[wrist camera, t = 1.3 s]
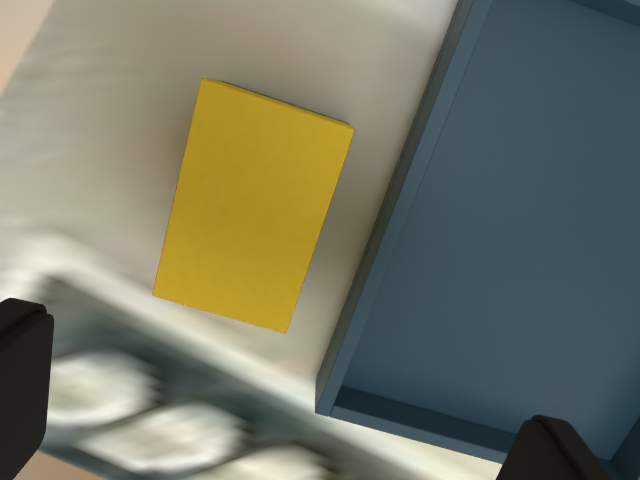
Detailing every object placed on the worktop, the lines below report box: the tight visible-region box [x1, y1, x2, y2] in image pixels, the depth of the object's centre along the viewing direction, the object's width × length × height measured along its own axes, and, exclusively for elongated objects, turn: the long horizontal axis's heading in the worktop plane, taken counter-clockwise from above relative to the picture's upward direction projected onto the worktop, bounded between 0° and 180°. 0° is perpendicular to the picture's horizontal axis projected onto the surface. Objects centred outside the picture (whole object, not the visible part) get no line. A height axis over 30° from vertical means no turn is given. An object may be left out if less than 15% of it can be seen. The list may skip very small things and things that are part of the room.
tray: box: [315, 0, 640, 480], centre depth 23 cm, size 20×24×3 cm
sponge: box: [152, 78, 354, 333], centre depth 21 cm, size 10×6×4 cm, turn 162°
